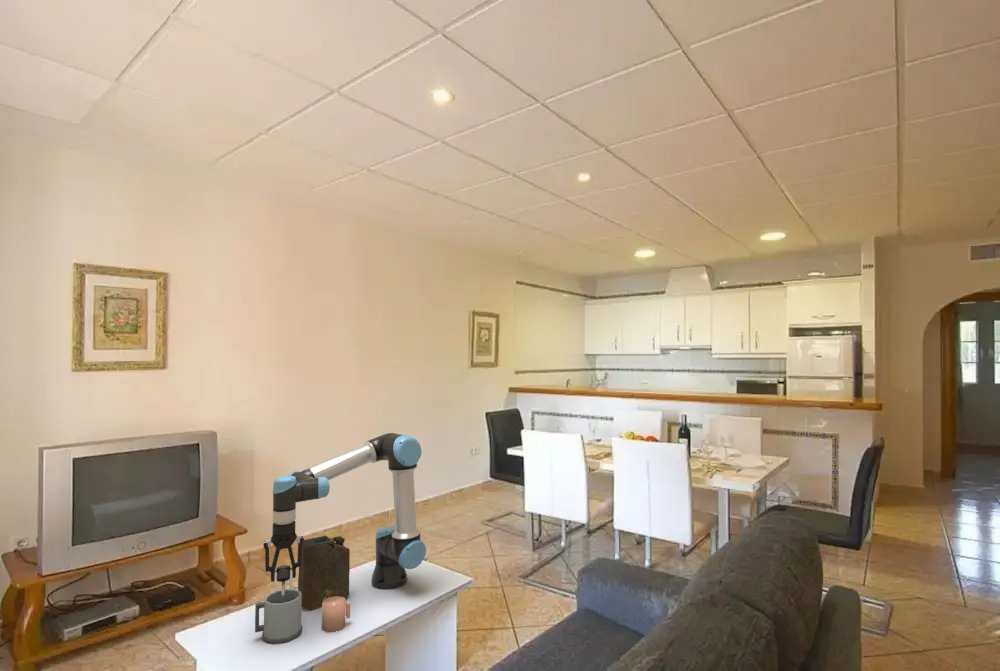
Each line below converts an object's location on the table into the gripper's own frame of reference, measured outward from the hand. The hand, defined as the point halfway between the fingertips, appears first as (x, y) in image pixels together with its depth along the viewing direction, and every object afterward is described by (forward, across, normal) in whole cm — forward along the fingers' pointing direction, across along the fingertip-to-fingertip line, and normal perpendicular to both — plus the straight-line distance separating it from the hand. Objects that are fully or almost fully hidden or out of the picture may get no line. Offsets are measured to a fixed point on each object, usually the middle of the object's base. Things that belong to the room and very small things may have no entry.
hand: (283, 588), depth 187 cm
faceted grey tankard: (+16, +1, 0) cm, 16 cm away
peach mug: (+16, -17, +2) cm, 23 cm away
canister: (+16, -16, -20) cm, 30 cm away
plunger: (+11, 0, 0) cm, 11 cm away
